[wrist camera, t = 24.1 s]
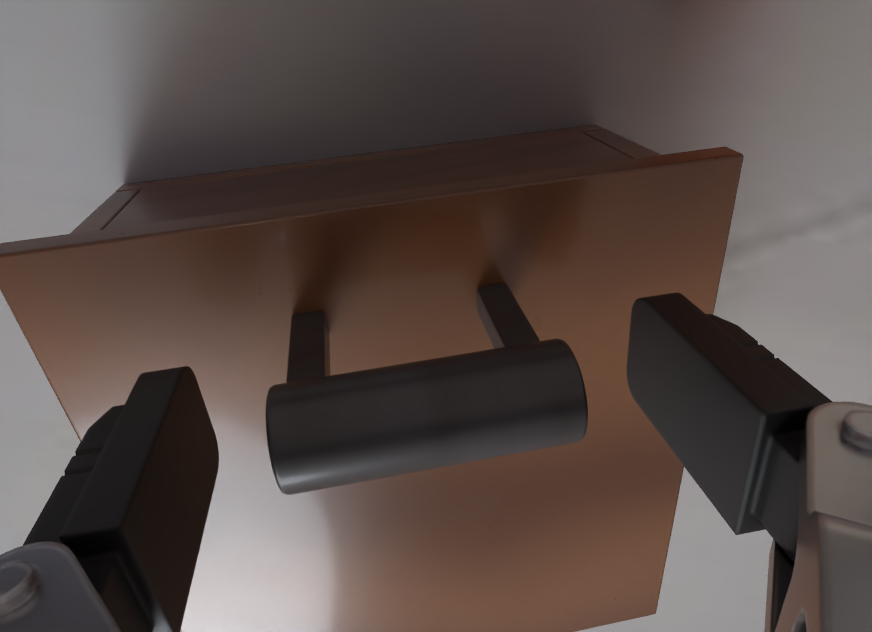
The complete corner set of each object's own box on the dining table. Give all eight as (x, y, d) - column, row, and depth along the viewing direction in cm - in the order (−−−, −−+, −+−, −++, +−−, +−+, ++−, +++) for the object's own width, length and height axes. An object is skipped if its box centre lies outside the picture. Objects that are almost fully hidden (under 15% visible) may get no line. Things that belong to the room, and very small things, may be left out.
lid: (-2, 242, 11) (-195, 409, 7) (725, 145, 13) (928, 234, 9) (223, 687, 20) (197, 886, 16) (647, 596, 22) (729, 755, 17)
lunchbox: (121, 184, 18) (32, 264, 12) (596, 123, 20) (702, 172, 14) (245, 538, 26) (224, 686, 20) (581, 475, 27) (646, 595, 22)
